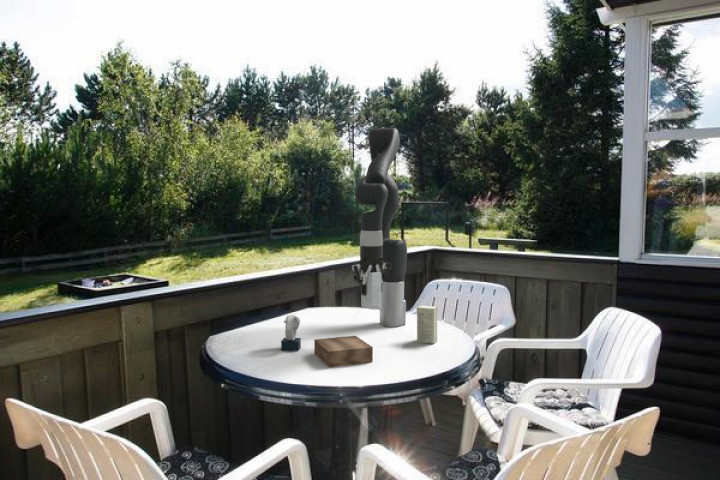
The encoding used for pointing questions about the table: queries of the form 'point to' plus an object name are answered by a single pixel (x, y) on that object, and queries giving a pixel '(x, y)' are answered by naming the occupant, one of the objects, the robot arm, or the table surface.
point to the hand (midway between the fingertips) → (371, 294)
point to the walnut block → (343, 351)
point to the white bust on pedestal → (291, 334)
